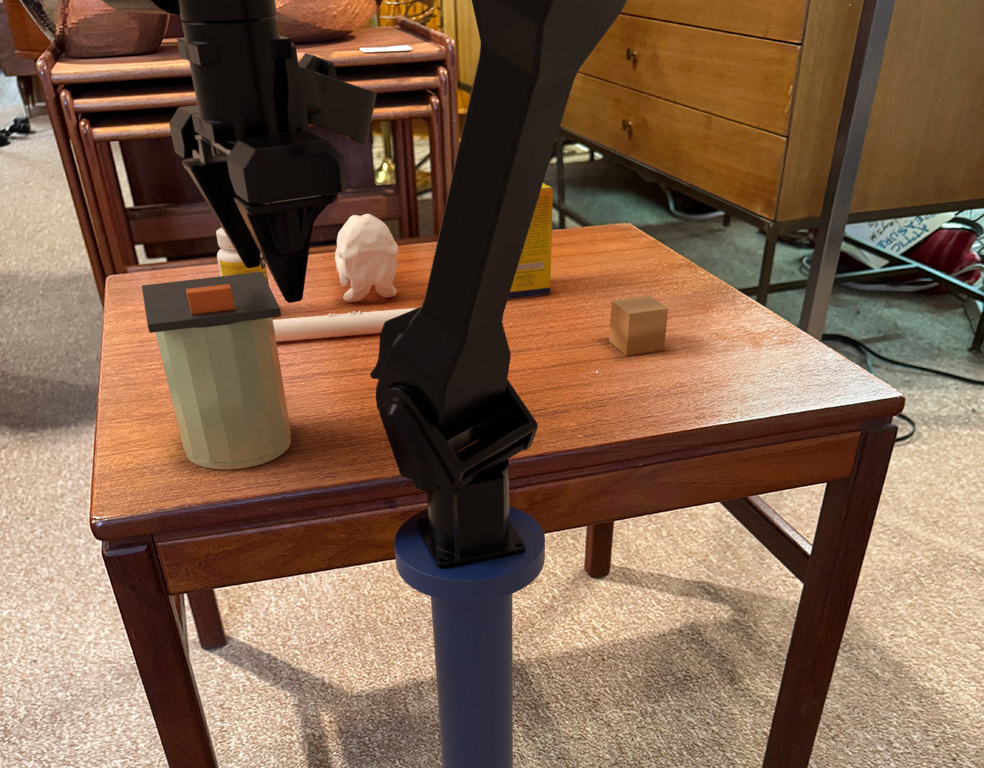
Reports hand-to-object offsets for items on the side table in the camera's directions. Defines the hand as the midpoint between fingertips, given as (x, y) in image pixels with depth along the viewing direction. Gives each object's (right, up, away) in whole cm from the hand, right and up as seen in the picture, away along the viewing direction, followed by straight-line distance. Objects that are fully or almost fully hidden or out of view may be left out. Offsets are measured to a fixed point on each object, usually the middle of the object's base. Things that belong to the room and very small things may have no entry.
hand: (272, 283), depth 66 cm
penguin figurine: (+1, +14, +38) cm, 41 cm away
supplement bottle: (-10, +10, +33) cm, 36 cm away
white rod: (+2, +6, +28) cm, 28 cm away
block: (+30, +3, +24) cm, 38 cm away
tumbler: (-5, -10, +9) cm, 14 cm away
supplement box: (+18, +14, +38) cm, 44 cm away
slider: (-5, -1, +2) cm, 5 cm away
